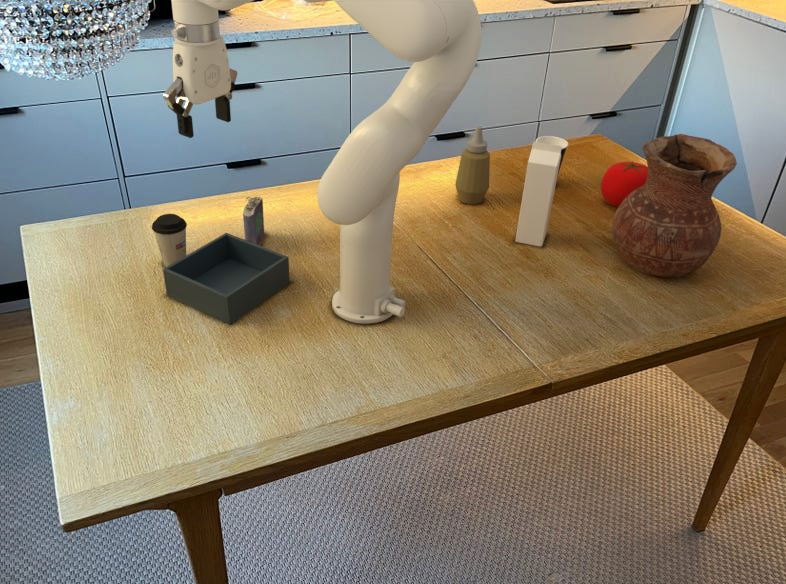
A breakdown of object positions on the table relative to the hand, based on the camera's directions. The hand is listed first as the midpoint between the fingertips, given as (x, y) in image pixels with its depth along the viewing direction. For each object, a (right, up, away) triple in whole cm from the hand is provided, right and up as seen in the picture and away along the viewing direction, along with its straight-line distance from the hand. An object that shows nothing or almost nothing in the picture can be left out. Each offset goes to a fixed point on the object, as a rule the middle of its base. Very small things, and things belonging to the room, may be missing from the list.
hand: (205, 127), depth 140 cm
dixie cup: (+75, +2, +52) cm, 91 cm away
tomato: (+92, -5, +44) cm, 102 cm away
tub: (+2, -29, +11) cm, 31 cm away
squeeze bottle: (+55, -4, +44) cm, 71 cm away
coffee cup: (-10, -23, +18) cm, 31 cm away
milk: (+66, -16, +30) cm, 75 cm away
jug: (+92, -22, +23) cm, 97 cm away
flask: (+5, -17, +25) cm, 31 cm away
